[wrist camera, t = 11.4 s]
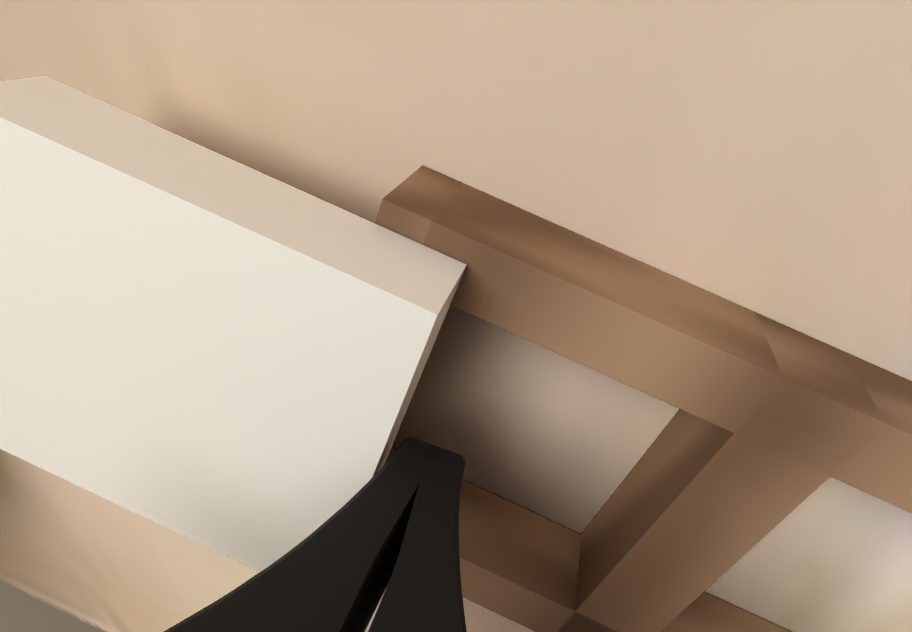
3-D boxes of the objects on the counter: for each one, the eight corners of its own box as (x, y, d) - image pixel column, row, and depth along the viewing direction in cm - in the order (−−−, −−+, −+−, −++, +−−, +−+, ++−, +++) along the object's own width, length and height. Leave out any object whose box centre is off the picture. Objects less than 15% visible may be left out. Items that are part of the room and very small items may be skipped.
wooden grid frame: (1194, 506, 12) (1317, 615, 10) (858, 701, 17) (891, 798, 15) (422, 165, 13) (382, 199, 10) (328, 454, 18) (289, 515, 16)
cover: (466, 264, 11) (437, 314, 9) (354, 536, 15) (322, 601, 14) (44, 75, 11) (-62, 89, 9) (64, 399, 16) (-4, 446, 14)
